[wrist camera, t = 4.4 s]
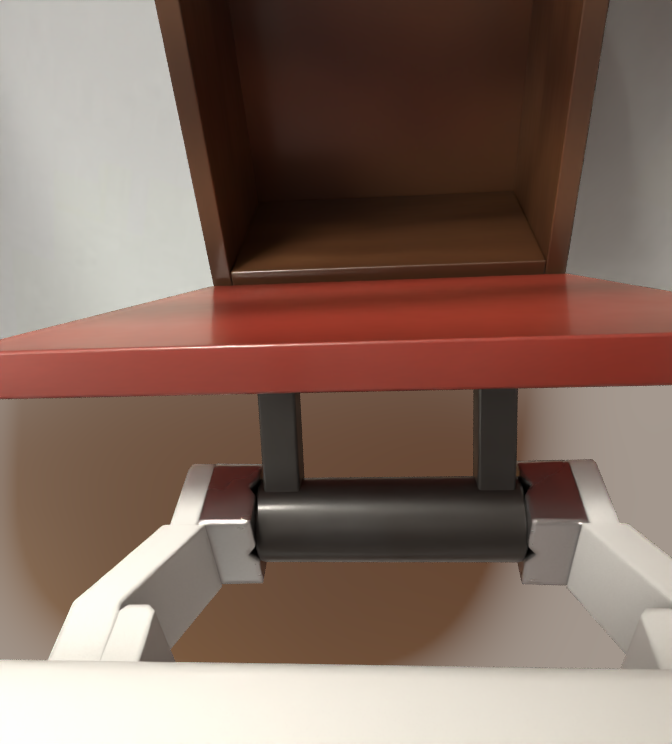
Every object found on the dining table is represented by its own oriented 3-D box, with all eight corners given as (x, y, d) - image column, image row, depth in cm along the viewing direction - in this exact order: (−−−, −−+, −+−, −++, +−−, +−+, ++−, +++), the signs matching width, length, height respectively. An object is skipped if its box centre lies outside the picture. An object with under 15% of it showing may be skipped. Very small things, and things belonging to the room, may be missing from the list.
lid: (-57, 352, 10) (-15, 611, 11) (881, 326, 9) (843, 619, 10) (211, 286, 26) (220, 396, 27) (568, 273, 24) (564, 389, 25)
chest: (187, -171, 24) (113, -198, 17) (571, -208, 23) (651, -254, 16) (247, 211, 33) (214, 290, 26) (525, 199, 32) (565, 278, 25)
